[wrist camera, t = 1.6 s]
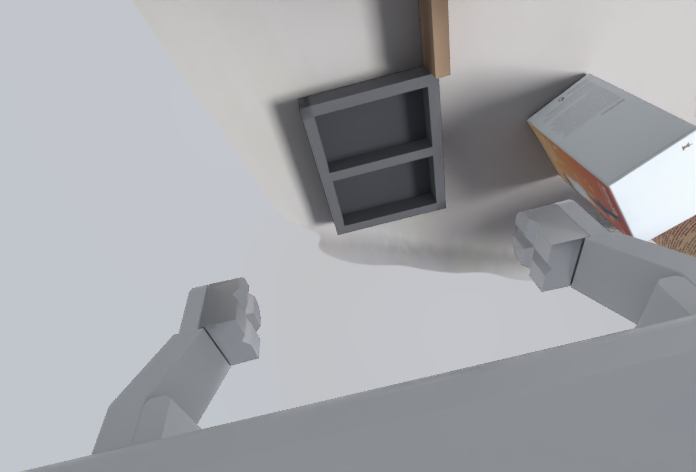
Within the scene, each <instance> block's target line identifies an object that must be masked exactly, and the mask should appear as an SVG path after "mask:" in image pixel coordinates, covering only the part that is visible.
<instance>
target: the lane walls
mask: <svg viewBox="0 0 696 472" xmlns="http://www.w3.org/2000/svg"><path fill="white" fill-rule="evenodd" d="M418 4H419V17H420V29H421V42H422V55H423V66H424V67H425V68H426V69H427V70H428V71H429V72H430V73H431V74H432V75H433V76H434V77H435V78H436V79H437V78H440V77H444V76H448V75H450V49H449V21H448V0H418Z"/></svg>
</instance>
